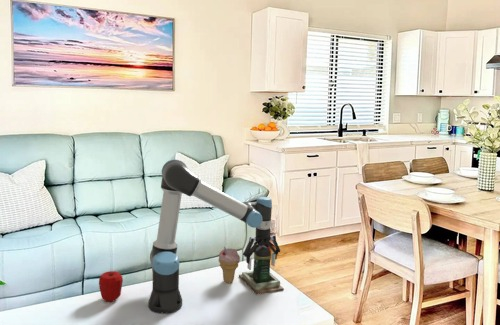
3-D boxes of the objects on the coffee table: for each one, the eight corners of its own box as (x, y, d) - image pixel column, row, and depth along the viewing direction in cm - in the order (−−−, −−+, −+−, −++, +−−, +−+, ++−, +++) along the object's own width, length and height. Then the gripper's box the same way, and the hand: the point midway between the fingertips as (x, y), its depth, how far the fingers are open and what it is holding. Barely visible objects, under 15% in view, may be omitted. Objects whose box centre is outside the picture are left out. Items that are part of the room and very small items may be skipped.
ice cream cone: (236, 287, 215) (237, 249, 211) (215, 284, 217) (216, 247, 214) (241, 278, 225) (242, 242, 222) (221, 275, 227) (222, 239, 224)
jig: (256, 294, 208) (256, 288, 207) (238, 276, 227) (239, 270, 227) (283, 290, 214) (283, 283, 213) (264, 272, 234) (264, 266, 233)
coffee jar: (271, 284, 217) (273, 250, 214) (256, 286, 215) (258, 251, 212) (265, 276, 226) (266, 243, 223) (250, 278, 224) (252, 244, 221)
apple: (125, 301, 196) (125, 274, 193) (102, 306, 190) (101, 278, 188) (119, 292, 205) (119, 265, 202) (97, 296, 199) (96, 269, 197)
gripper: (243, 232, 207) (241, 273, 211) (288, 227, 218) (286, 266, 221) (237, 227, 214) (236, 267, 217) (281, 223, 224) (279, 261, 228)
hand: (261, 267), depth 219 cm, fingers open, 13 cm apart
